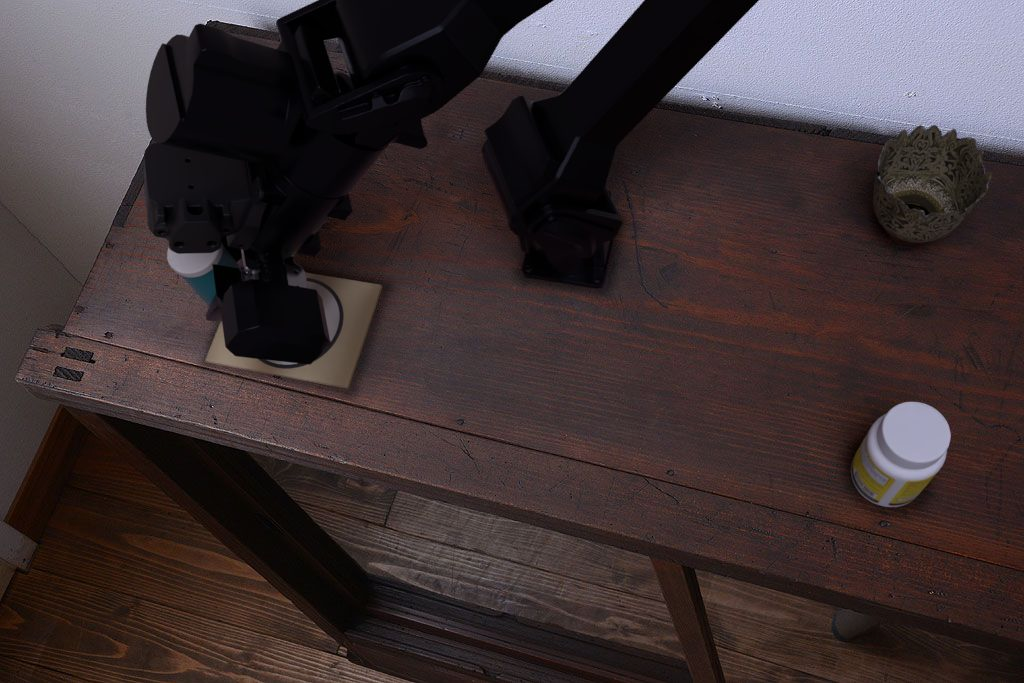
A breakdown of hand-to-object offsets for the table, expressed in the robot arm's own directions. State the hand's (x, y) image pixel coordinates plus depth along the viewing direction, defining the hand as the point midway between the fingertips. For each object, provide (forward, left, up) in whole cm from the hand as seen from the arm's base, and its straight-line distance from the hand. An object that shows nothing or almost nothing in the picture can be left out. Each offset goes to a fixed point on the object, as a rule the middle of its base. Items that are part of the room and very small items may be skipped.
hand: (209, 296), depth 69 cm
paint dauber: (-1, -1, -7) cm, 7 cm away
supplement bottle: (-48, +1, -9) cm, 49 cm away
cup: (-48, -19, -9) cm, 52 cm away
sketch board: (-3, -3, -9) cm, 9 cm away
